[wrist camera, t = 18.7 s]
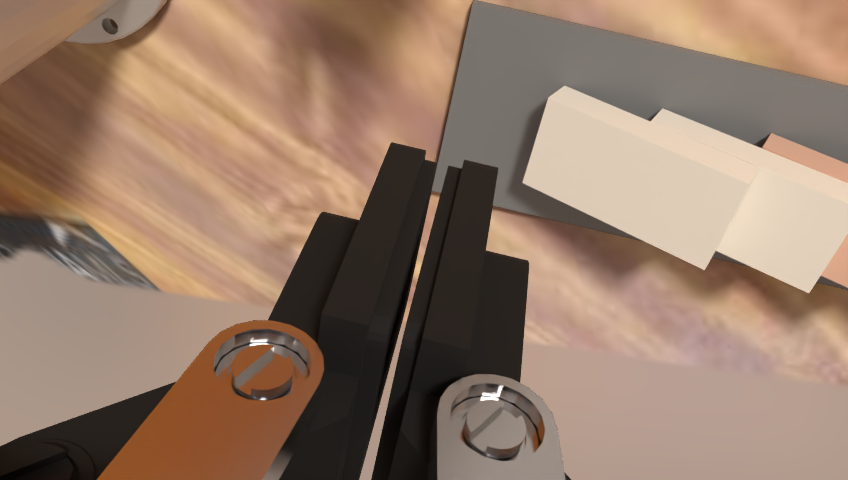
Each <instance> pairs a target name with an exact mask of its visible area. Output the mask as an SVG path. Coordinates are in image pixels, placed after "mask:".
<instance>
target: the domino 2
mask: <svg viewBox="0 0 848 480" xmlns="http://www.w3.org/2000/svg"><path fill="white" fill-rule="evenodd" d="M651 122H653V123H655V124H657V125H660V126H662V127H665V128H667V129H669V130H672V131H674V132H676V133H679V134H681V135H684V136H686V137H688V138H691V139H693V140H695V141H698V142H700V143H703V144H705V145H707V146H710V147H712V148H714V149H717V150H719V151H722V152H724V153H726V154H729V155H731V156H734V157H736V158H738V159H741V160H743V161H745V162H748V163H750V164H753V165H755V166H757V167H759V169H758V171H757V173H756V175H755V177H754V178H753V180H752V182H751V184H750V186H749V188H748V190H747V192H746V194H745V196H744V198H743V199H742V201H741V203H740V205H739V207H738V209H737V211H736V213H735V215H734V217H733V219H732V220H731V222H730V224H729V226H728V228H727V230H726V232H725V234H724V236H723V238H722V240H721V241H720V243H719V245H718V247H717V249H716V251H718V252H720V253H722V254H724V255H726V256H728V257H731V258H733V259H735V260H737V261H739V262H741V263H744V264H746V265H748V266H750V267H752V268H755V269H757V270H759V271H761V272H763V273H765V274H768V275H770V276H772V277H774V278H776V279H779V280H781V281H783V282H785V283H787V284H789V285H792V286H794V287H796V288H798V289H800V290H803V291H805V292H807V293H810V291H811V290H812V288H813V287H814V285H815V284H816V282H817V280H818V279H819V277H820V276H821V274H822V273H823V271H824V270H825V268H826V267H827V265H828V263H829V262H830V260H831V259H832V257H833V256H834V254H835V253H836V251H837V250H838V248H839V247H840V245H841V243H842V242H843V240H844V239H845V237H846V236H847V234H848V183H846V182H844V181H841V180H839V179H836V178H834V177H831V176H829V175H826V174H824V173H821V172H819V171H816V170H814V169H811V168H809V167H806V166H804V165H802V164H799V163H797V162H794V161H792V160H789V159H787V158H784V157H782V156H779V155H777V154H774V153H772V152H769V151H767V150H764V149H762V148H760V147H757V146H755V145H752V144H750V143H747V142H745V141H742V140H740V139H737V138H735V137H732V136H730V135H727V134H725V133H722V132H720V131H717V130H715V129H713V128H710V127H708V126H705V125H703V124H700V123H698V122H695V121H693V120H690V119H688V118H685V117H683V116H680V115H678V114H675V113H673V112H671V111H668V110H666V109H663V108H662V109H661V110H660V112H659V113H658V114H657V115H656V116H655V117H654V118H653V119H652V120H651Z"/></svg>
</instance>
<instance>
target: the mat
mask: <svg viewBox="0 0 848 480" xmlns="http://www.w3.org/2000/svg"><path fill="white" fill-rule="evenodd" d="M563 86H567V87H569V88H572V89H574V90H576V91H579V92H581V93H584V94H586V95H588V96H591V97H593V98H596V99H598V100H600V101H603V102H605V103H607V104H610V105H612V106H615V107H617V108H619V109H622V110H624V111H626V112H629V113H631V114H634V115H636V116H638V117H641V118H643V119H645V120H648V121H650V122H651V120H652V119H653V118H654V117H655V116H656V115H657V114H658V113H659V112H660V110H661V109H662V108H663V109H666V110H668V111H671V112H673V113H675V114H678V115H680V116H683V117H685V118H688V119H690V120H693V121H695V122H698V123H700V124H703V125H705V126H708V127H710V128H713V129H715V130H717V131H720V132H722V133H725V134H727V135H730V136H732V137H735V138H737V139H740V140H742V141H745V142H747V143H750V144H752V145H755V146H757V147H760V148H762V147H763V146H764V144H765V142H766V141H767V139H768V138H769V136H770V134H771V133H773V134H775V135H778V136H780V137H782V138H785V139H787V140H790V141H792V142H795V143H797V144H800V145H802V146H805V147H807V148H810V149H812V150H814V151H817V152H819V153H822V154H824V155H827V156H829V157H832V158H834V159H837V160H839V161H842V162H844V163H847V164H848V86H845V85H841V84H837V83H833V82H828V81H824V80H820V79H815V78H811V77H807V76H802V75H798V74H794V73H789V72H785V71H781V70H776V69H772V68H768V67H763V66H759V65H755V64H750V63H746V62H742V61H737V60H733V59H729V58H724V57H720V56H716V55H711V54H707V53H703V52H698V51H694V50H690V49H685V48H681V47H677V46H672V45H668V44H664V43H660V42H655V41H651V40H647V39H642V38H638V37H634V36H629V35H625V34H621V33H616V32H612V31H608V30H603V29H599V28H595V27H590V26H586V25H582V24H577V23H573V22H569V21H564V20H560V19H556V18H551V17H547V16H543V15H538V14H534V13H530V12H525V11H521V10H517V9H512V8H508V7H504V6H499V5H495V4H491V3H486V2H482V1H478V0H474V1H473V4H472V8H471V13H470V17H469V22H468V27H467V31H466V36H465V40H464V45H463V50H462V54H461V59H460V63H459V68H458V73H457V77H456V82H455V86H454V91H453V96H452V100H451V105H450V109H449V114H448V119H447V123H446V128H445V132H444V137H443V142H442V146H441V151H440V155H439V160H438V164H437V169H436V174H435V178H434V183H433V187H432V191H434V192H438V193H441V191H442V187H443V183H444V180H445V176H446V172H447V168H448V165H449V166H453V167H457V168H462V166H463V162H464V160H469V161H473V162H477V163H481V164H485V165H490V166H494V167H498V175H497V181H496V188H495V194H494V200H493V206H497V207H501V208H505V209H509V210H514V211H518V212H522V213H526V214H530V215H535V216H539V217H543V218H547V219H551V220H556V221H560V222H564V223H568V224H572V225H577V226H581V227H585V228H589V229H593V230H598V231H602V232H606V233H610V234H614V235H619V236H623V237H627V238H631V239H635V240H640V239H638V238H636V237H634V236H632V235H630V234H628V233H626V232H624V231H622V230H620V229H617V228H615V227H613V226H611V225H609V224H607V223H605V222H603V221H601V220H599V219H597V218H595V217H592V216H590V215H588V214H586V213H584V212H582V211H580V210H578V209H576V208H574V207H572V206H570V205H567V204H565V203H563V202H561V201H559V200H557V199H555V198H553V197H551V196H549V195H547V194H545V193H542V192H540V191H538V190H536V189H534V188H532V187H530V186H528V185H526V184H524V183H522V182H523V179H524V176H525V173H526V169H527V166H528V163H529V159H530V156H531V153H532V150H533V146H534V143H535V140H536V136H537V133H538V130H539V127H540V123H541V120H542V117H543V113H544V110H545V107H546V104H547V100H548V97H550V96H551V95H552V94H554V93H555V92H557V91H558V90H559V89H561V88H562V87H563ZM640 241H642V240H640ZM644 242H645V241H644ZM712 258H715V259H720V260H724V261H728V262H732V263H736V264H741V265H745V266H748V265H746V264H744V263H741V262H739V261H737V260H735V259H733V258H731V257H728V256H726V255H724V254H722V253H720V252H718V251H715V253H714V255H713V256H712ZM749 267H750V266H749ZM816 283H821V284H825V285H829V286H833V287H837V288H842V289H846V290H848V288H847V287H845V286H843V285H841V284H838V283H836V282H834V281H832V280H830V279H828V278H825V277H823V276H820V277H819V279H818V280H817V282H816Z"/></svg>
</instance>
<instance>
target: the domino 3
mask: <svg viewBox="0 0 848 480" xmlns="http://www.w3.org/2000/svg"><path fill="white" fill-rule="evenodd" d="M762 149H764V150H767V151H769V152H772V153H774V154H777V155H779V156H782V157H784V158H787V159H789V160H792V161H794V162H797V163H799V164H802V165H804V166H806V167H809V168H811V169H814V170H816V171H819V172H821V173H824V174H826V175H829V176H831V177H834V178H836V179H839V180H841V181H844V182H846V183H848V164H847V163H844V162H842V161H839V160H837V159H834V158H832V157H829V156H827V155H824V154H822V153H819V152H817V151H814V150H812V149H810V148H807V147H805V146H802V145H800V144H797V143H795V142H792V141H790V140H787V139H785V138H782V137H780V136H778V135H775V134H773V133H771V134H770V136H769V138H768V139H767V141H766V142H765V144H764V146H763V147H762ZM821 276H823V277H825V278H828V279H830V280H832V281H834V282H836V283H838V284H841V285H843V286H845V287H847V288H848V234H847V236H846V237H845V239H844V240H843V242H842V243H841V245H840V247H839V248H838V250H837V251H836V253H835V254H834V256H833V257H832V259H831V260H830V262H829V263H828V265H827V267H826V268H825V270H824V271H823V273H822V274H821Z"/></svg>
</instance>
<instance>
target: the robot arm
mask: <svg viewBox="0 0 848 480" xmlns="http://www.w3.org/2000/svg"><path fill="white" fill-rule="evenodd" d="M166 2H167V0H0V84H2V83H3V82H4V81H6V80H7V79H9V78H10V77H12V76H13V75H15V74H16V73H18V72H19V71H21V70H22V69H23V68H25V67H26V66H28V65H29V64H31V63H32V62H34V61H35V60H37V59H38V58H40V57H41V56H43V55H44V54H45V53H47V52H48V51H50V50H51V49H53V48H54V47H56V46H57V45H59V44H60V43H62V42H63V41H65V42H72V43H79V44H101V43H108V42H112V41H115V40H119V39H122V38H125V37H127V36H128V35H130V34H132V33H134V32H135V31H137V30H139V29H141V28H142V27H143V26H144V25H145V24H147V23H148V22H149V21H150V20H152V19H153V18H154V17H155V16H156V15H157V13H158V12H159V11H160V10H161V8H162V7H163V6H164V5H165V3H166ZM425 155H426V150H422V149H418V148H414V147H409V146H405V145H401V144H397V143H391V144H390V146H389V149H388V151H387V154H386V156H385V159H384V161H383V163H382V166H381V168H380V171H379V173H378V176H377V178H376V181H375V183H374V186H373V188H372V191H371V193H370V195H369V198H368V200H367V203H366V205H365V208H364V210H363V213H362V215H361V218H360V220H356V219H352V218H347V217H343V216H339V215H335V214H331V213H327V212H322V213H321V214H320V215H319V217H318V219H317V221H316V223H315V225H314V227H313V229H312V231H311V233H310V235H309V237H308V239H307V241H306V243H305V245H304V247H303V249H302V251H301V253H300V255H299V258H298V260H297V262H296V264H295V266H294V268H293V270H292V272H291V274H290V276H289V278H288V280H287V282H286V284H285V286H284V288H283V290H282V292H281V294H280V297H279V299H278V301H277V303H276V305H275V307H274V309H273V311H272V313H271V315H270V317H269V319H268V320H253V321H249V322H244V323H240V324H236V325H233V326H231V327H229V328H227V329H225V330H223V331H221V332H220V333H219V334H217V335H216V336H215V337H214V338H213V339H212V340H211V341H210V342H209V343H208V344H207V345H206V346H205V347H204V349H203V350H202V351H201V352H200V353H199V355H198V356H197V357H196V358H195V360H194V361H193V362H192V363H191V364H190V366H189V367H188V368H187V369H186V371H185V372H184V373H183V374H182V376H181V377H180V378H179V379H178V380H177V382H174V383H171V384H168V385H165V386H163V387H160V388H157V389H154V390H151V391H149V392H146V393H143V394H140V395H138V396H134V397H132V398H129V399H126V400H123V401H121V402H118V403H115V404H112V405H110V406H106V407H103V408H101V409H98V410H95V411H92V412H89V413H87V414H84V415H81V416H78V417H75V418H72V419H70V420H67V421H64V422H61V423H58V424H56V425H53V426H50V427H47V428H45V429H42V430H39V431H36V432H33V433H30V434H28V435H25V436H22V437H19V438H17V439H15V440H13V441H11V442H9V443H7V444H5V445H2V446H0V480H359V478H360V474H361V470H362V467H363V463H364V459H365V456H366V452H367V448H368V445H369V441H370V437H371V433H372V430H373V427H374V423H375V419H376V415H377V412H378V408H379V405H380V401H381V397H382V394H383V390H384V386H385V383H386V379H387V375H388V371H389V368H390V364H391V360H392V357H393V353H394V350H395V346H396V342H397V338H398V335H399V331H400V328H401V324H402V320H403V317H404V313H405V309H406V305H407V301H408V296H409V292H410V287H411V283H412V278H413V274H414V269H415V264H416V260H417V255H418V251H419V246H420V241H421V237H422V232H423V228H424V223H425V218H426V214H427V209H428V205H429V200H430V195H431V191H432V186H433V182H434V177H435V172H436V168H437V163H436V162H432V161H428V160H425ZM497 175H498V167H494V166H490V165H485V164H481V163H477V162H473V161H469V160H464V162H463V166H462V168H457V167H453V166H449V165H448V168H447V172H446V176H445V180H444V183H443V187H442V191H441V195H440V199H439V202H438V206H437V210H436V214H435V217H434V221H433V225H432V229H431V232H430V236H429V240H428V244H427V248H426V251H425V255H424V259H423V263H422V266H421V270H420V274H419V278H418V281H417V285H416V289H415V293H414V297H413V300H412V304H411V308H410V312H409V315H408V319H407V323H406V327H405V331H404V335H403V339H402V344H401V349H400V353H399V357H398V362H397V366H396V371H395V375H394V380H393V384H392V389H391V393H390V398H389V402H388V407H387V411H386V416H385V421H384V425H383V429H382V434H381V438H380V443H379V447H378V452H377V456H376V461H375V466H374V470H373V475H372V479H371V480H571V479H570V478H569V477H568V476H567V475H566V474H565V472H564V467H563V461H562V454H561V448H560V442H559V436H558V429H557V426H556V423H555V420H554V417H553V414H552V412H551V411H550V409H549V408H548V406H547V405H546V403H545V402H544V401H543V399H542V398H541V397H540V396H538V395H537V394H536V393H535V392H533V391H532V390H531V389H530V388H529V387H527V386H525V385H523V384H521V383H520V377H521V364H522V351H523V338H524V326H525V313H526V300H527V287H528V274H529V262H528V261H527V260H523V259H519V258H515V257H510V256H506V255H502V254H498V253H494V252H490V251H486V245H487V238H488V232H489V226H490V219H491V213H492V207H493V200H494V194H495V188H496V181H497Z"/></svg>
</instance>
